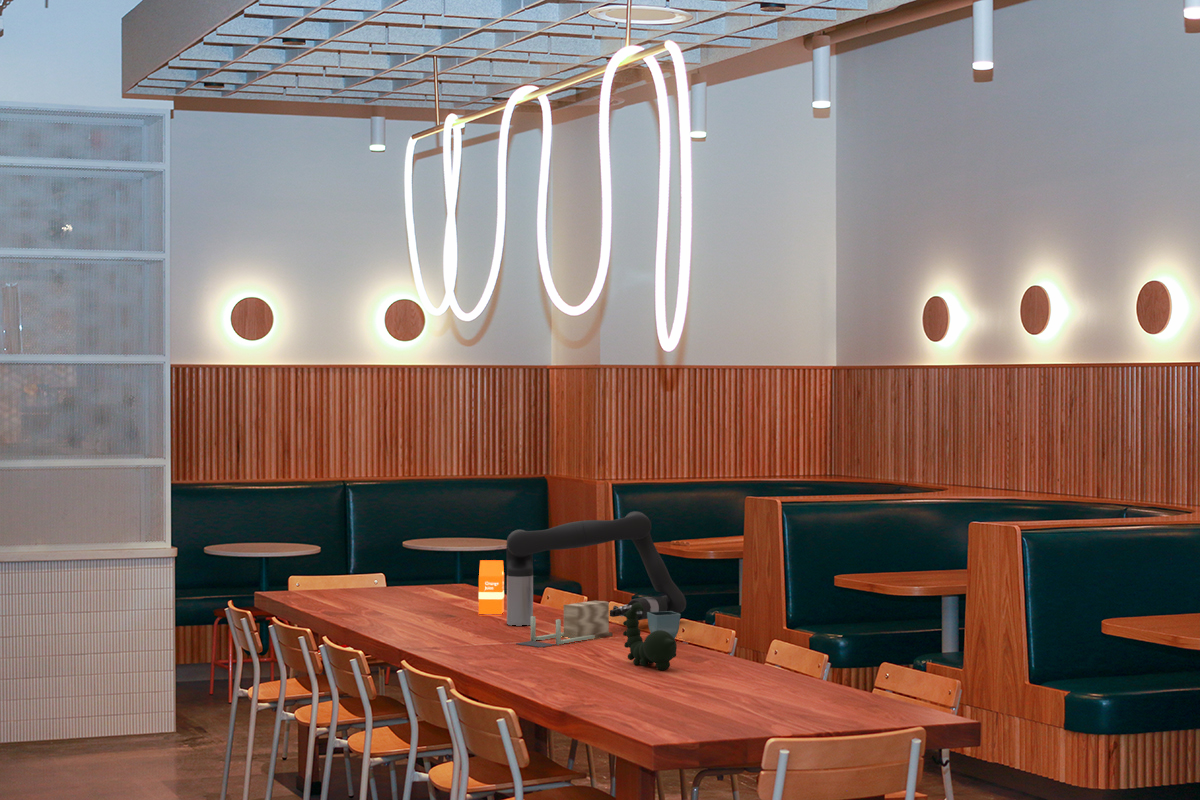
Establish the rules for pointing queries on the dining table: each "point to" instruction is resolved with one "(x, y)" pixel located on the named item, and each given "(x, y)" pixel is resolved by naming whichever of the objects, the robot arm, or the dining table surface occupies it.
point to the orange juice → (491, 587)
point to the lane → (603, 634)
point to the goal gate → (557, 635)
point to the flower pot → (664, 622)
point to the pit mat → (535, 644)
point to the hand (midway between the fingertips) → (611, 613)
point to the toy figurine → (648, 642)
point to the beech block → (586, 618)
